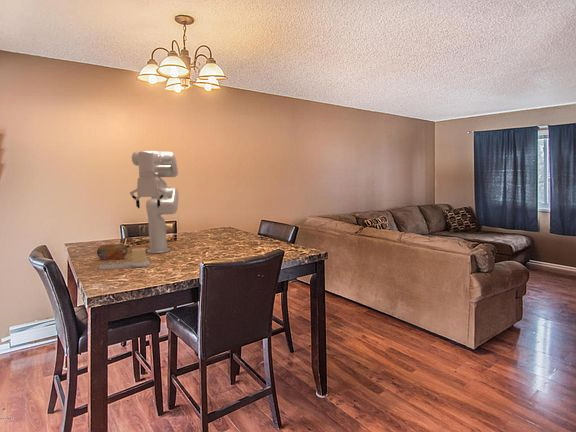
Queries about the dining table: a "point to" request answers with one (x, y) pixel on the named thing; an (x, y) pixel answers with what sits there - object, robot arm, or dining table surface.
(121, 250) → the tin
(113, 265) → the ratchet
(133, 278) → the dining table surface
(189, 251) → the dining table surface
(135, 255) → the tan wooden cube
